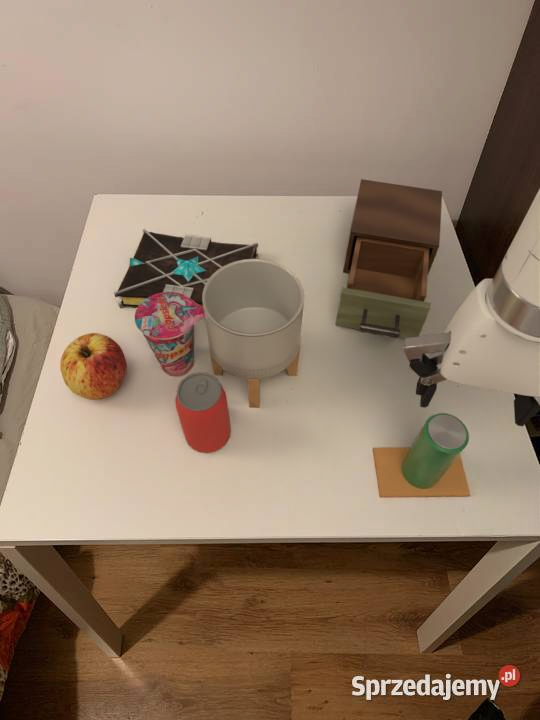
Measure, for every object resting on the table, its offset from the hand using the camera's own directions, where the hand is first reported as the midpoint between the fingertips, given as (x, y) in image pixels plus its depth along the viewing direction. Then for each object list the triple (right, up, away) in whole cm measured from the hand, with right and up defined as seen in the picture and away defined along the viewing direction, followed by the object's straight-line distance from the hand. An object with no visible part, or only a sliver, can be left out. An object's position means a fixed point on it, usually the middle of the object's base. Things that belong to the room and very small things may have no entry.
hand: (470, 404), depth 52 cm
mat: (-1, -11, +16) cm, 19 cm away
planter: (-24, +3, +25) cm, 35 cm away
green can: (-1, -10, +15) cm, 19 cm away
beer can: (-30, -6, +19) cm, 36 cm away
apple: (-47, +1, +23) cm, 52 cm away
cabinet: (+1, +25, +41) cm, 48 cm away
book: (-35, +19, +36) cm, 54 cm away
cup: (-35, +4, +26) cm, 44 cm away
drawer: (-3, +13, +31) cm, 34 cm away
